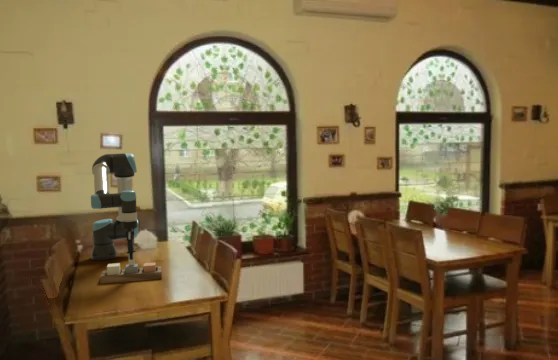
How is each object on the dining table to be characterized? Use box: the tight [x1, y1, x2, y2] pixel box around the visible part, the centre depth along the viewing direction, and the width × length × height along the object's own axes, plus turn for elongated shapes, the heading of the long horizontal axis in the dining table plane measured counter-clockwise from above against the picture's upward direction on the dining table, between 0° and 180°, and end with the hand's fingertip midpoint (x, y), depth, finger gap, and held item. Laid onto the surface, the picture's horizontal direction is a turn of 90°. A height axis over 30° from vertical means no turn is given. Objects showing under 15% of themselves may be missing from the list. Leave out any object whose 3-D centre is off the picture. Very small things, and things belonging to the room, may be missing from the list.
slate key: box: [124, 263, 139, 274], centre depth 252 cm, size 6×6×4 cm
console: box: [99, 265, 163, 285], centre depth 252 cm, size 12×30×4 cm, turn 103°
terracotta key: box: [143, 261, 157, 272], centre depth 254 cm, size 6×6×4 cm
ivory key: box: [106, 262, 122, 275], centre depth 250 cm, size 6×6×4 cm
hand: (131, 265), depth 251 cm, fingers closed
